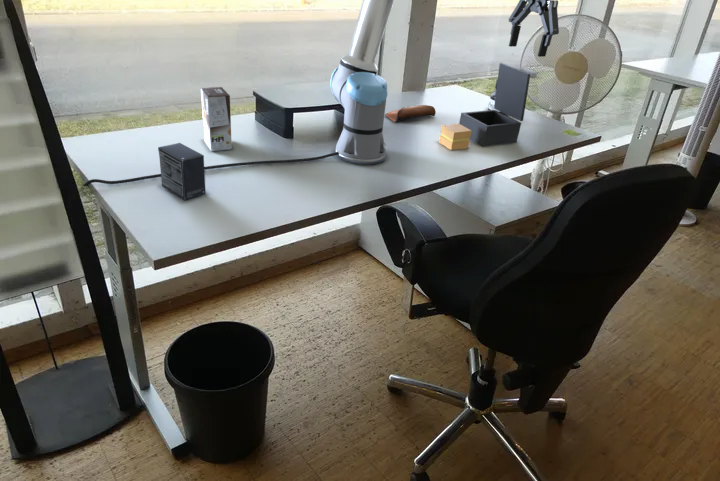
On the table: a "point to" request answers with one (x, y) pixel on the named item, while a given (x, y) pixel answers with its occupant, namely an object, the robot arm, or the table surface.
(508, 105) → the grill lid
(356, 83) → the robot arm
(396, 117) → the sunglasses case
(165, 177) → the small box
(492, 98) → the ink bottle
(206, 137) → the coffee box
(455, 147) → the toast sandwich
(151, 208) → the table surface
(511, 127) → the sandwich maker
